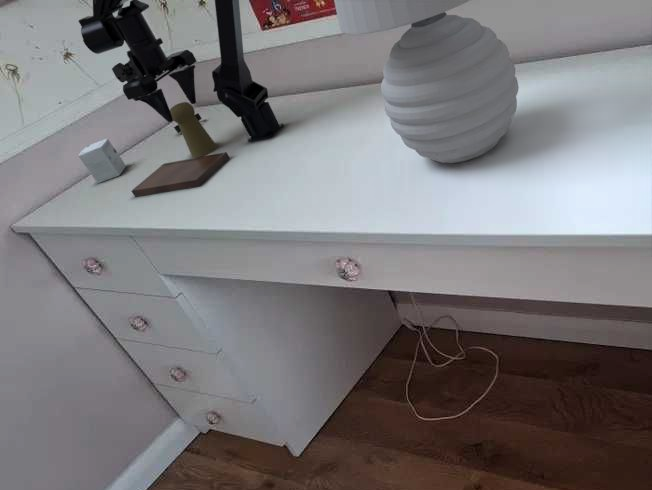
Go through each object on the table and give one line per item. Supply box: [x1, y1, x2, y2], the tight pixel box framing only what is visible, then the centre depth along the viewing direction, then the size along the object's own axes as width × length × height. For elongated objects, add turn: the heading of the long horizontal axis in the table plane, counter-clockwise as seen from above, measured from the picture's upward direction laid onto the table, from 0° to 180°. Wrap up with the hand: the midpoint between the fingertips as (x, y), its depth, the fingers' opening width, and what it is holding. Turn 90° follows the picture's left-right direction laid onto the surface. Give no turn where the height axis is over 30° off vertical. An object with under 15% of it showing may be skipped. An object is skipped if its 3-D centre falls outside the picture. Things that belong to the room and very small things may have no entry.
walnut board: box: [131, 151, 231, 198], centre depth 139 cm, size 18×12×2 cm, turn 74°
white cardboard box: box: [77, 138, 127, 184], centre depth 154 cm, size 6×6×7 cm
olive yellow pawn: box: [169, 101, 218, 158], centre depth 146 cm, size 6×6×11 cm
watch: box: [173, 112, 203, 134], centre depth 167 cm, size 8×5×4 cm, turn 143°
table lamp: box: [333, 0, 520, 164], centre depth 95 cm, size 25×25×40 cm
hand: (182, 112), depth 143 cm, fingers open, 9 cm apart
